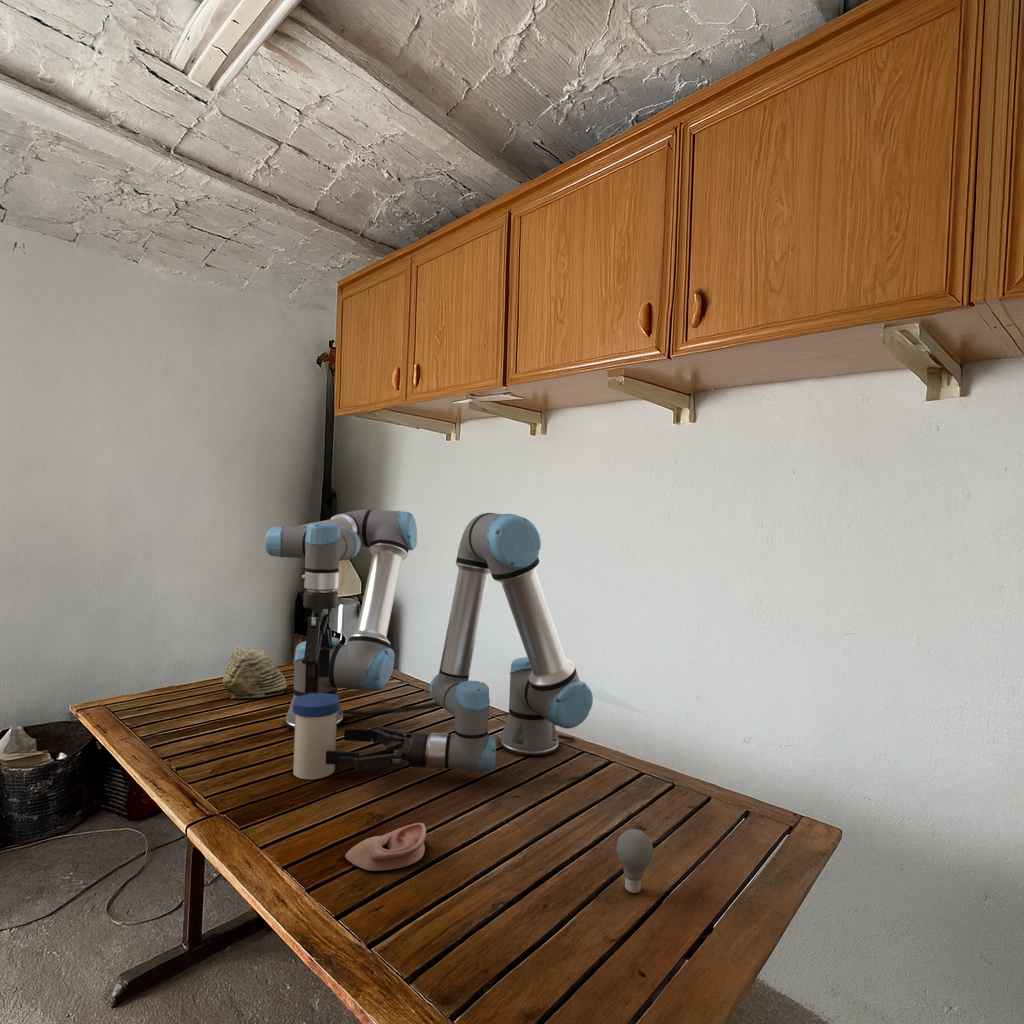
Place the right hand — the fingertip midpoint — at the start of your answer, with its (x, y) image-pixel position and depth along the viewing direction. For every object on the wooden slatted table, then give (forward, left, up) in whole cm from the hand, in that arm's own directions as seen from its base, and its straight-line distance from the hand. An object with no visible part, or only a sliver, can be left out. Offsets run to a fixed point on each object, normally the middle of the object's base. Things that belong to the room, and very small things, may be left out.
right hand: (335, 745), depth 145 cm
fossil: (+17, -64, -7) cm, 67 cm away
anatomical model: (-5, +36, -7) cm, 37 cm away
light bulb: (-41, +60, -7) cm, 73 cm away
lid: (+4, -3, +10) cm, 11 cm away
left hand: (+4, -3, +13) cm, 14 cm away
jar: (+4, -3, -7) cm, 8 cm away
